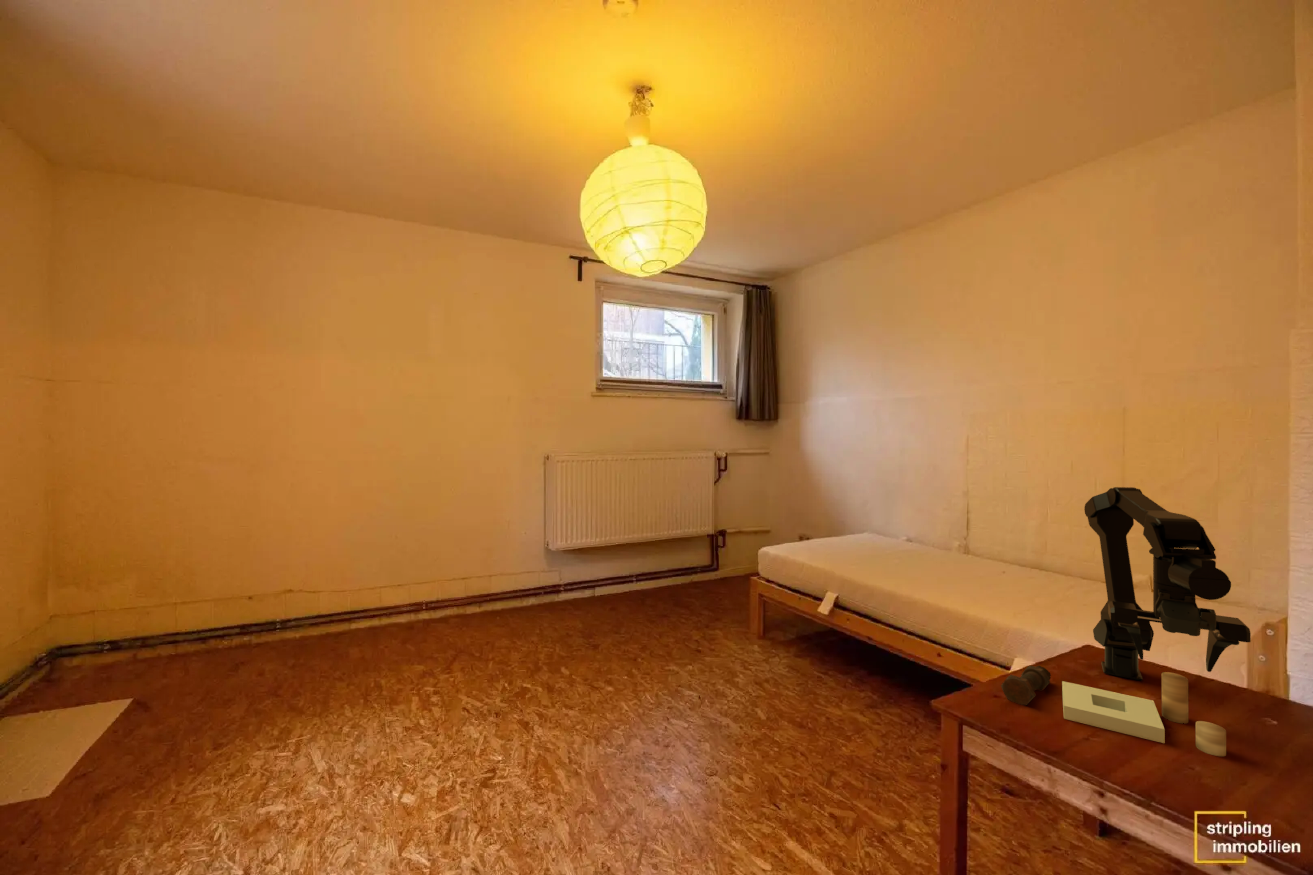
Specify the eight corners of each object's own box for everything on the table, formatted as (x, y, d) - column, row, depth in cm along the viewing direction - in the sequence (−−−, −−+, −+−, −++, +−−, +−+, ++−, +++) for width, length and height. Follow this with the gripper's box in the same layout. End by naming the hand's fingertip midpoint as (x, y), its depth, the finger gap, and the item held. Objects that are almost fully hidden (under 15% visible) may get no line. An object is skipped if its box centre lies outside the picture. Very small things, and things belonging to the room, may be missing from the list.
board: (1062, 692, 110) (1062, 680, 110) (1153, 713, 102) (1153, 700, 102) (1063, 718, 101) (1063, 705, 101) (1164, 743, 92) (1164, 729, 92)
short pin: (1193, 741, 93) (1193, 718, 93) (1223, 748, 91) (1222, 725, 91) (1198, 751, 90) (1198, 728, 90) (1228, 758, 88) (1228, 735, 88)
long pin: (1160, 711, 103) (1160, 670, 102) (1186, 716, 100) (1185, 675, 100) (1163, 719, 100) (1163, 677, 100) (1190, 725, 98) (1190, 682, 97)
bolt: (1046, 691, 115) (1020, 711, 106) (1023, 672, 118) (996, 690, 109) (1063, 672, 113) (1037, 692, 104) (1039, 654, 116) (1012, 671, 107)
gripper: (1113, 585, 99) (1113, 668, 99) (1260, 604, 88) (1260, 696, 88) (1107, 572, 108) (1108, 647, 108) (1241, 587, 97) (1241, 671, 97)
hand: (1174, 664), depth 100 cm, fingers open, 9 cm apart
